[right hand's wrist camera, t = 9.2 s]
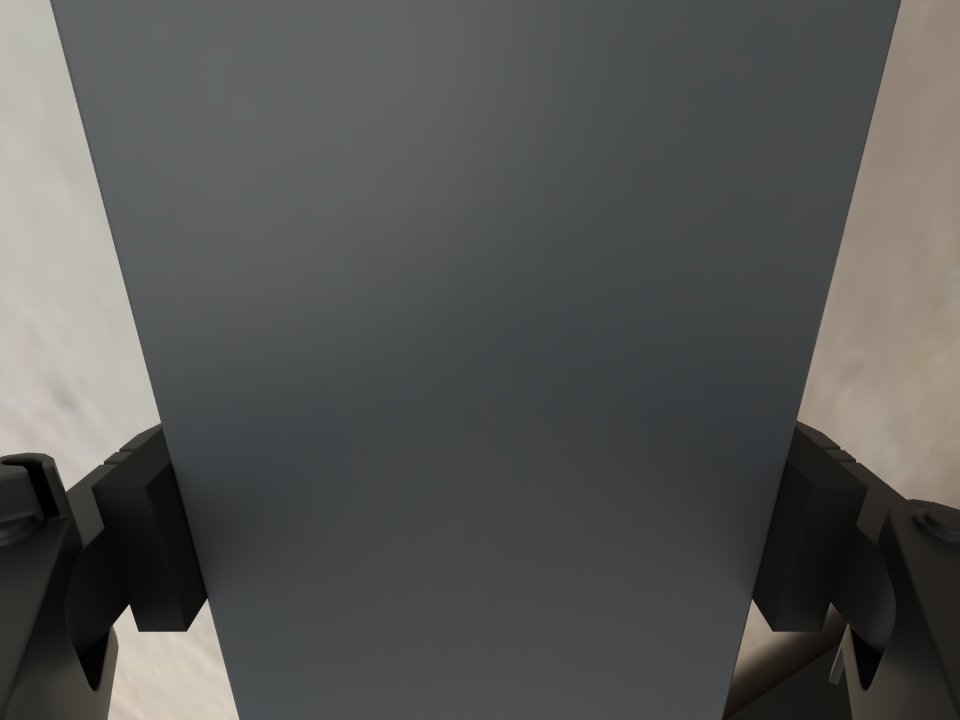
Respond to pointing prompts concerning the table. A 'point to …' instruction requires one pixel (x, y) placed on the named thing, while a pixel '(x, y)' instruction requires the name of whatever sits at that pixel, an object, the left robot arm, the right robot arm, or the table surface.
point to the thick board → (477, 326)
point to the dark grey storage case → (803, 696)
